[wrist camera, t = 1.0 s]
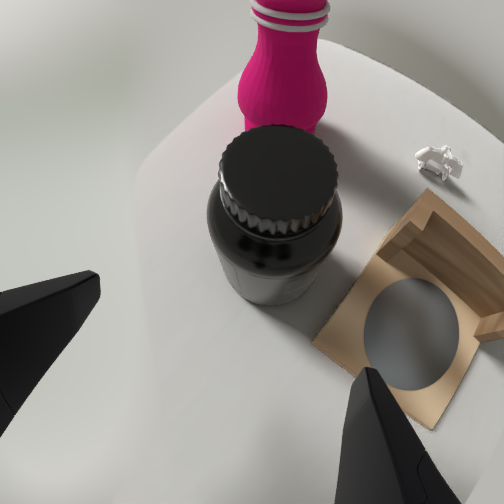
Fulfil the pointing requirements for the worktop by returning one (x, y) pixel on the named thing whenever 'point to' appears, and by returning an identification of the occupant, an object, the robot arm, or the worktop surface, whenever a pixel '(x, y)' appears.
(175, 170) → the worktop surface
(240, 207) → the supplement bottle
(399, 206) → the worktop surface
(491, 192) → the worktop surface
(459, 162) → the clip
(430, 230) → the holder
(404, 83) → the worktop surface
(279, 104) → the pepper mill
